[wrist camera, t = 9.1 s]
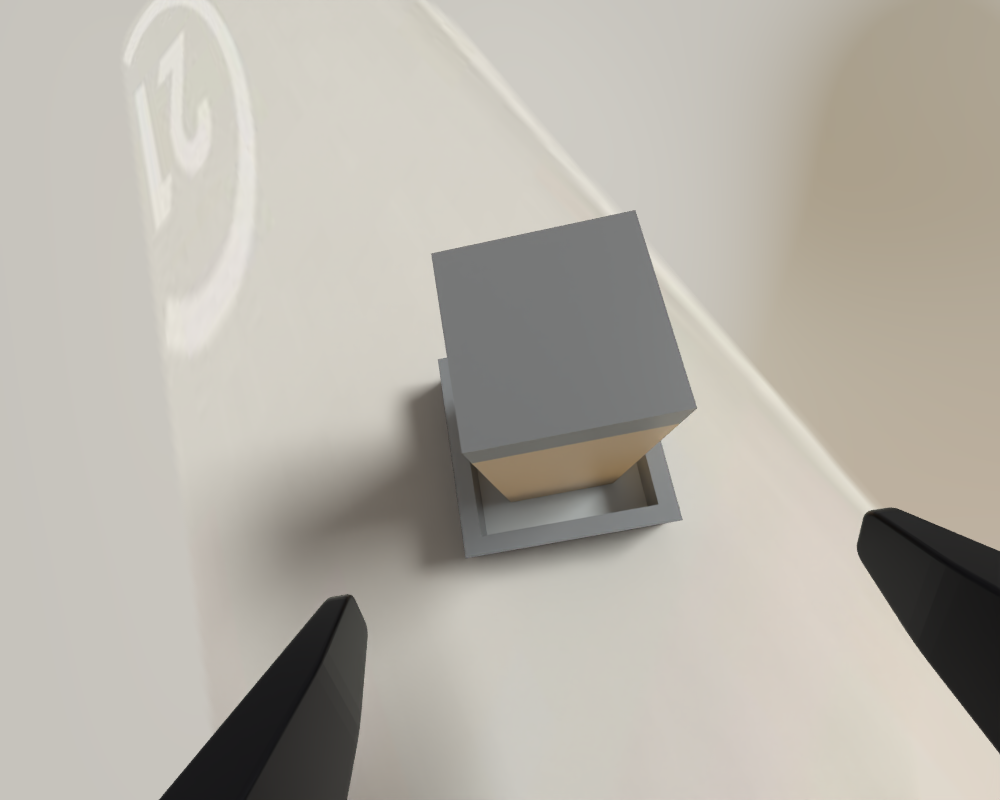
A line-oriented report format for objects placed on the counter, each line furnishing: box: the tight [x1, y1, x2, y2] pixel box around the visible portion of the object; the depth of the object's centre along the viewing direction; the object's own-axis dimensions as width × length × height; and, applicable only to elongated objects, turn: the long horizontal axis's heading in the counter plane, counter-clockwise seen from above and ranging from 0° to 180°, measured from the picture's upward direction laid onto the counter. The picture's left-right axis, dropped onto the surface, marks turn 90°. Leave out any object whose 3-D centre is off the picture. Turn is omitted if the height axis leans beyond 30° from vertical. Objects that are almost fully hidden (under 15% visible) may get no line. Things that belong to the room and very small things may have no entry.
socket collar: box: [438, 358, 682, 558], centre depth 20 cm, size 8×8×2 cm
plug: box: [431, 210, 697, 502], centre depth 15 cm, size 4×4×12 cm
